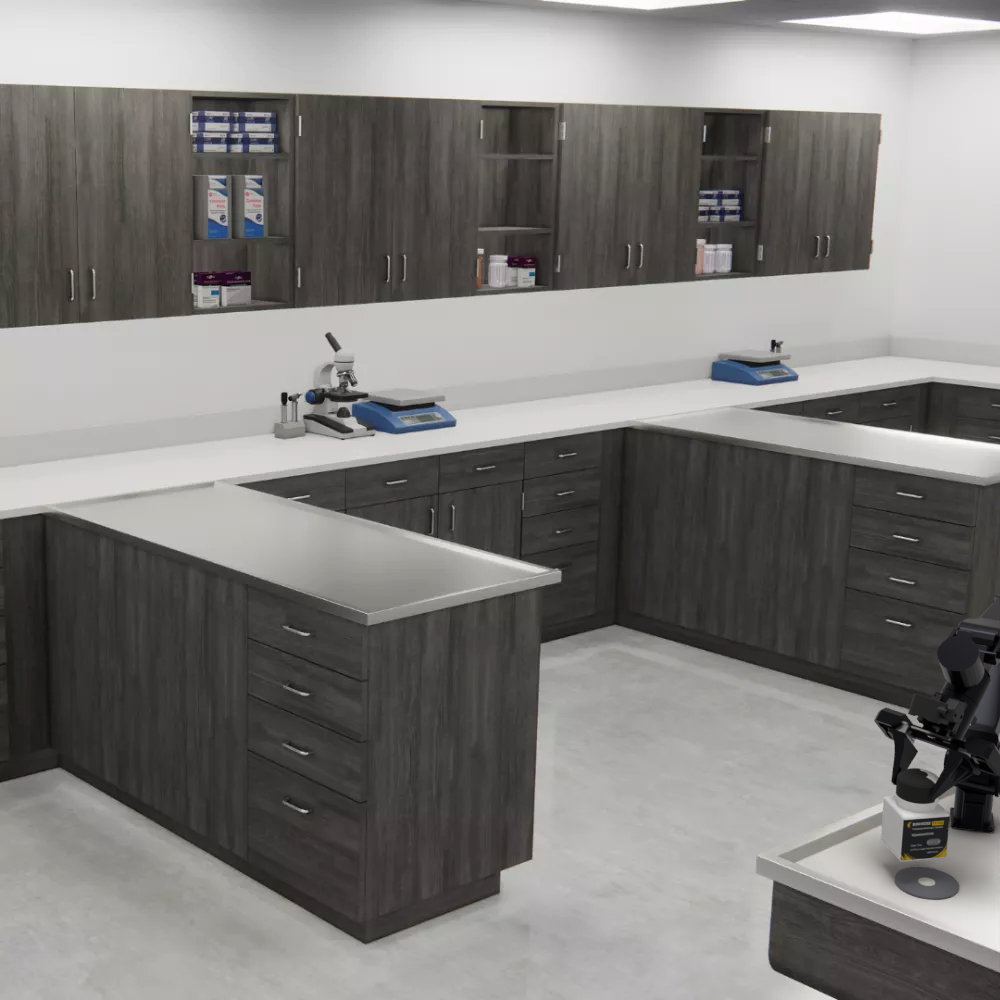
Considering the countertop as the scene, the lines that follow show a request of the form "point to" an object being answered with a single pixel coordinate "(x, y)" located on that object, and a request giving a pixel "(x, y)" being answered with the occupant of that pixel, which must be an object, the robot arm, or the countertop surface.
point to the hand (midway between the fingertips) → (912, 790)
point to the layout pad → (926, 883)
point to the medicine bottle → (915, 818)
